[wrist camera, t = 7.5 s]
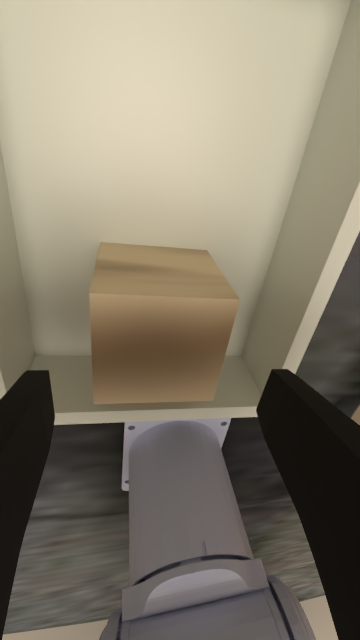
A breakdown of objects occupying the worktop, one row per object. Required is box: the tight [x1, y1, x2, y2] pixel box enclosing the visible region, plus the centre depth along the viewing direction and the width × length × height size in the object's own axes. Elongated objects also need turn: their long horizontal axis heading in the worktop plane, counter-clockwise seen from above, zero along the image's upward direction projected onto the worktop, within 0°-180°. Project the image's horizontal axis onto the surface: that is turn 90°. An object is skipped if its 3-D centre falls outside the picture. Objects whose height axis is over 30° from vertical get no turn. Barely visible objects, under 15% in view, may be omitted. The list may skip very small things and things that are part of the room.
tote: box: [0, 0, 360, 425], centre depth 12 cm, size 18×14×5 cm
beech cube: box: [89, 242, 240, 404], centre depth 13 cm, size 5×5×5 cm
